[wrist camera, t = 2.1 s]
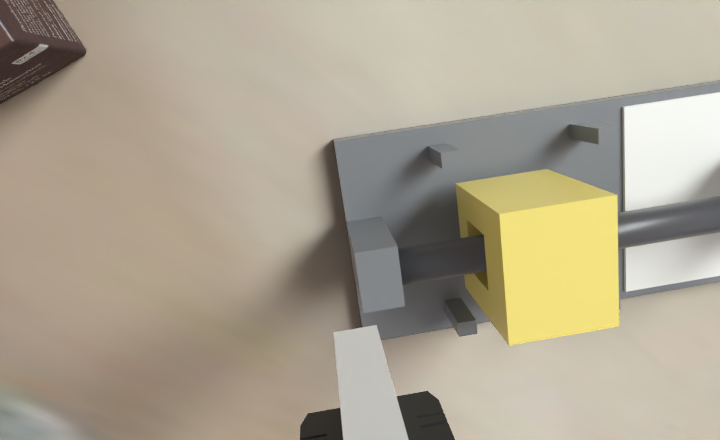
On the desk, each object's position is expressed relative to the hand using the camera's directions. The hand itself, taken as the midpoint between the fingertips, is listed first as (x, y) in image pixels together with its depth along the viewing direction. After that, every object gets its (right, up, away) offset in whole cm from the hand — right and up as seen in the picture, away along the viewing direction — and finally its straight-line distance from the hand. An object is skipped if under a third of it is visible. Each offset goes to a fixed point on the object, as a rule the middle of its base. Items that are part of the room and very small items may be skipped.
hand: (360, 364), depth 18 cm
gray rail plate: (+12, +6, +13) cm, 19 cm away
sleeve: (+8, +4, +11) cm, 14 cm away
